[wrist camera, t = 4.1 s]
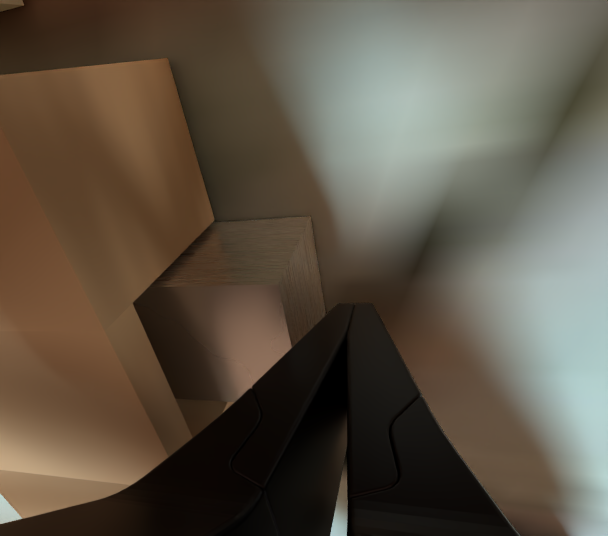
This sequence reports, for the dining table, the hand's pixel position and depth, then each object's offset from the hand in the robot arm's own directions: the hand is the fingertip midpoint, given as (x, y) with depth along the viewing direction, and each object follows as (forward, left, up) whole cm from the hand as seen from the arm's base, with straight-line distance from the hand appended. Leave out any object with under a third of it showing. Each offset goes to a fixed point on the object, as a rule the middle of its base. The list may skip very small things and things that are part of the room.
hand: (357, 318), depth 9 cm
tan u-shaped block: (0, +7, -1) cm, 7 cm away
